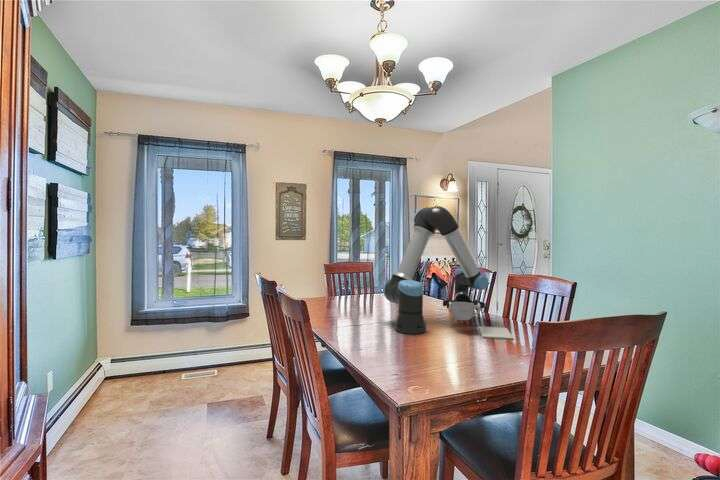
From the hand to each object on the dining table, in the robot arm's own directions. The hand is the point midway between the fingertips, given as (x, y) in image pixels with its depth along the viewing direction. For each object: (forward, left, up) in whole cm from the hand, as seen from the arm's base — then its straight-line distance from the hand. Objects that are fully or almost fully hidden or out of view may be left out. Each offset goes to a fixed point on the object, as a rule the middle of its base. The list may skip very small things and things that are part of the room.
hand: (464, 307), depth 176 cm
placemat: (+14, +1, -12) cm, 18 cm away
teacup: (0, +1, -6) cm, 6 cm away
